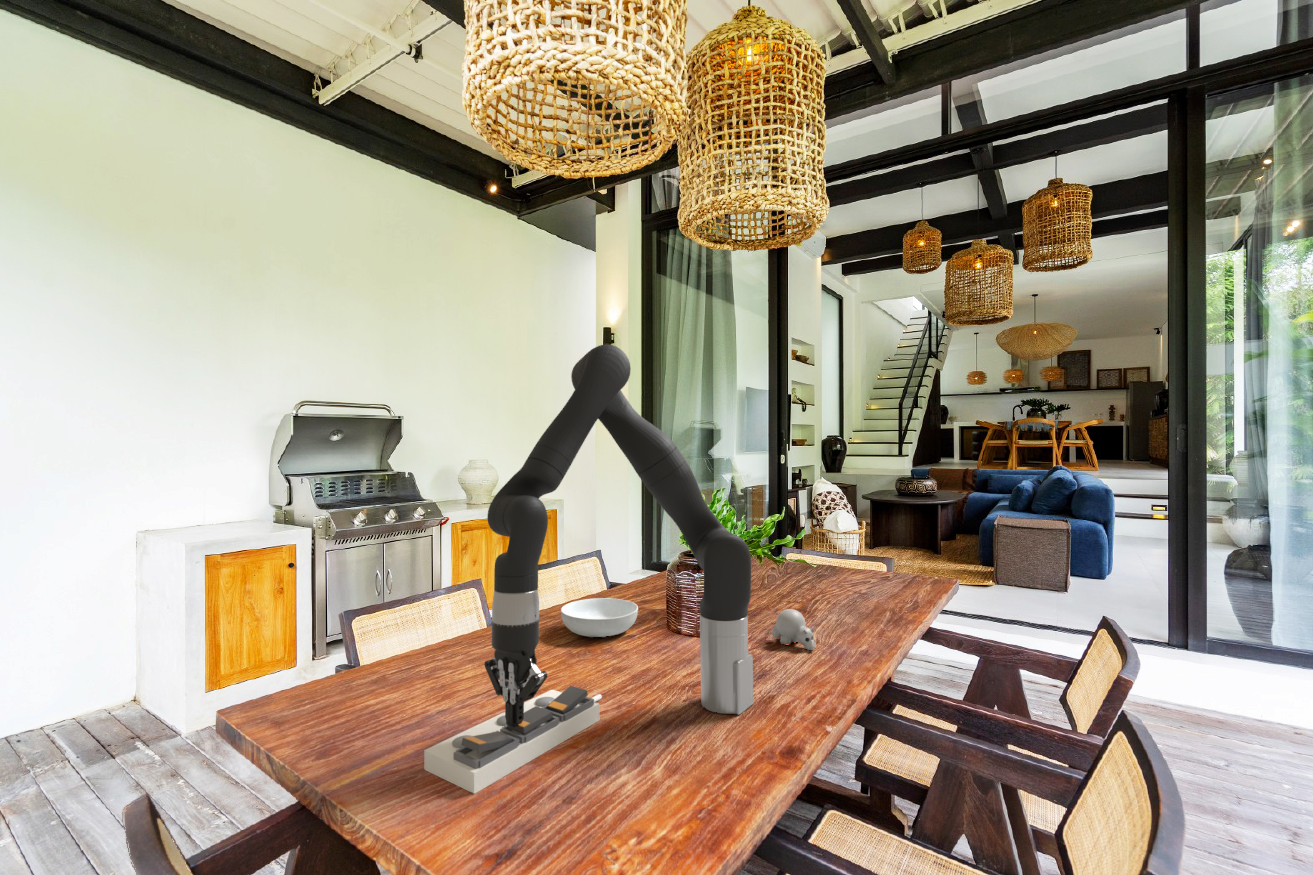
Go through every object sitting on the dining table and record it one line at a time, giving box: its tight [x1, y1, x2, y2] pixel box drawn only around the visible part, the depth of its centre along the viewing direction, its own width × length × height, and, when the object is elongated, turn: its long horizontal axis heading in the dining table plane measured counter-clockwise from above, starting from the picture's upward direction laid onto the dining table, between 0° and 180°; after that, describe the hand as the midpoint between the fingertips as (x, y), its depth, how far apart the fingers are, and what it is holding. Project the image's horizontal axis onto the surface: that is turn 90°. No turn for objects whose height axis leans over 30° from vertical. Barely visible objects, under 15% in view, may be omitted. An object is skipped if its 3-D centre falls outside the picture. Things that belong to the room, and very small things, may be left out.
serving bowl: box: [560, 597, 639, 638], centre depth 162 cm, size 21×21×7 cm
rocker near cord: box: [547, 685, 589, 714], centre depth 108 cm, size 6×4×1 cm, turn 146°
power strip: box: [423, 689, 603, 795], centre depth 105 cm, size 36×12×4 cm, turn 145°
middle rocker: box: [507, 706, 553, 734], centre depth 100 cm, size 6×4×1 cm, turn 145°
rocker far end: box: [462, 732, 512, 752], centre depth 93 cm, size 6×4×1 cm, turn 145°
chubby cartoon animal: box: [771, 608, 817, 651], centre depth 149 cm, size 7×12×8 cm, turn 33°
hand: (514, 724), depth 98 cm, fingers closed
